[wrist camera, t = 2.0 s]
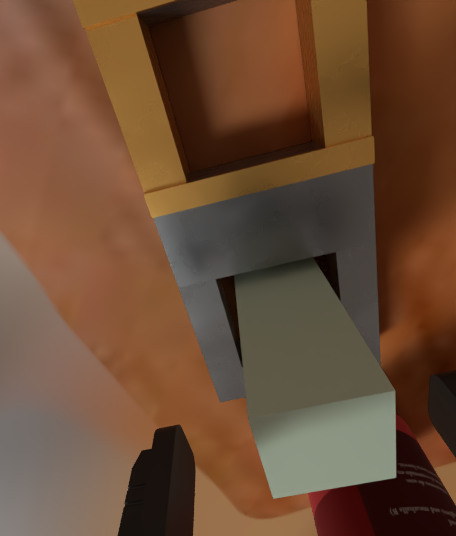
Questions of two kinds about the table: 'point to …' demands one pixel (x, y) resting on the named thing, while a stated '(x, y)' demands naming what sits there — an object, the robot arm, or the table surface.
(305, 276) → the sage block
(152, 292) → the table surface
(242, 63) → the table surface
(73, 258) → the table surface
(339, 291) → the grey yellow flat board
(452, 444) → the robot arm
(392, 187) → the table surface
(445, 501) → the canned food
